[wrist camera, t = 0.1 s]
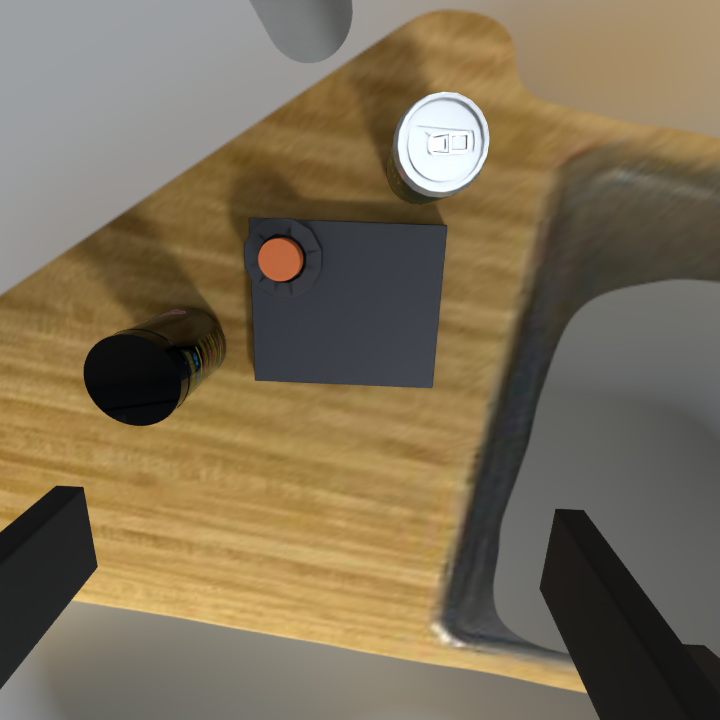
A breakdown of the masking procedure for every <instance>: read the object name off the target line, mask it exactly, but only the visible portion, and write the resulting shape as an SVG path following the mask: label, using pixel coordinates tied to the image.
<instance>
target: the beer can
mask: <svg viewBox="0 0 720 720" xmlns="http://www.w3.org/2000/svg"><path fill="white" fill-rule="evenodd" d="M488 145H489V134H488V125H487V123H486V120H485V118H484V116H483V114H482V112H481V110H480V109H479V108H478V107H477V106H476V105H475V104H474V103H473V102H472V101H471V100H470V99H468V98H466V97H464V96H462V95H460V94H458V93H450V92H439V93H435V94H431V95H427V96H424V97H423V98H421V99H420V100H418V101H417V102H415V103H414V104H412V105H411V106H410V107H409V108H408V110H407V111H406V112H405V113H404V115H403V116H402V117H401V119H400V121H399V123H398V126H397V128H396V131H395V133H394V137H393V140H392V144H391V148H390V152H389V156H388V160H387V169H386V172H387V177H388V182H389V184H390V186H391V188H392V190H393V192H394V193H395V194H396V195H397V196H398V197H400V198H401V199H402V200H404V201H406V202H408V203H410V204H419V205H422V204H426V203H431V202H434V201H437V200H440V199H443V198H446V197H449V196H451V195H454V194H456V193H458V192H460V191H461V190H463V189H465V188H466V187H468V186H469V185H470V184H471V183H472V182H473V180H474V179H475V178H476V177H477V176H478V175H479V173H480V171H481V169H482V167H483V165H484V163H485V161H486V157H487V151H488Z"/></svg>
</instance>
